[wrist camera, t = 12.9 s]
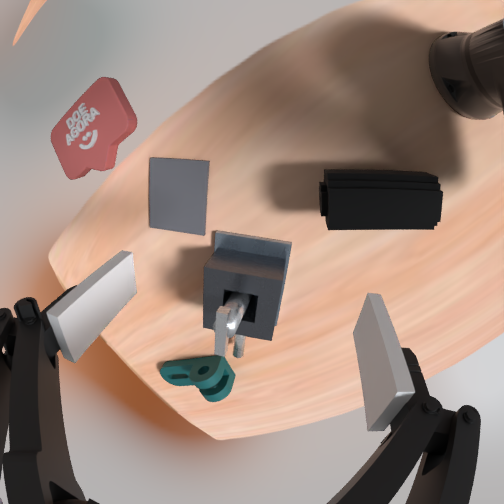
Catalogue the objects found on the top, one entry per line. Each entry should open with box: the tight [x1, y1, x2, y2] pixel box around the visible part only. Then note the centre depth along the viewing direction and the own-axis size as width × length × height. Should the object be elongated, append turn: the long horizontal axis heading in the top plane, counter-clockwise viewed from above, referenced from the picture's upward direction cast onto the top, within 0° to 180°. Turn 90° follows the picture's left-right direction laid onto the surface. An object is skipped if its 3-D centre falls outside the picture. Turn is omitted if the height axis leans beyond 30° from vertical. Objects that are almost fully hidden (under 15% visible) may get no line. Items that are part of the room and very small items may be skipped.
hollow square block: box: [203, 231, 292, 358], centre depth 45 cm, size 22×12×8 cm, turn 174°
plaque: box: [51, 77, 137, 180], centre depth 40 cm, size 18×4×15 cm
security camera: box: [319, 169, 443, 230], centre depth 33 cm, size 7×18×10 cm, turn 95°
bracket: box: [160, 355, 236, 402], centre depth 56 cm, size 18×7×8 cm, turn 112°
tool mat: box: [149, 157, 210, 236], centre depth 43 cm, size 12×10×1 cm
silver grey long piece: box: [213, 291, 253, 357], centre depth 40 cm, size 7×3×14 cm, turn 174°
